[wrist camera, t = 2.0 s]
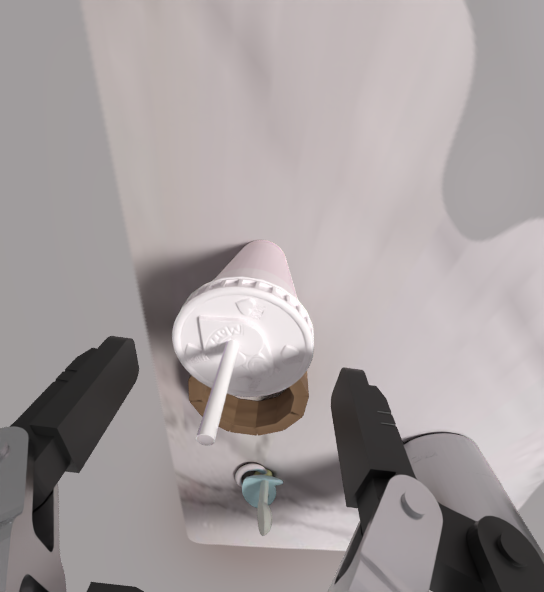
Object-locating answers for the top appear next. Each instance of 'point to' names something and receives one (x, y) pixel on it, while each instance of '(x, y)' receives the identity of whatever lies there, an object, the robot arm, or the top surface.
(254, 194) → the top surface
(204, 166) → the top surface
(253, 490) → the pacifier
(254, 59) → the top surface
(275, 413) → the brown polygonal ring
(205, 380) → the smoothie
